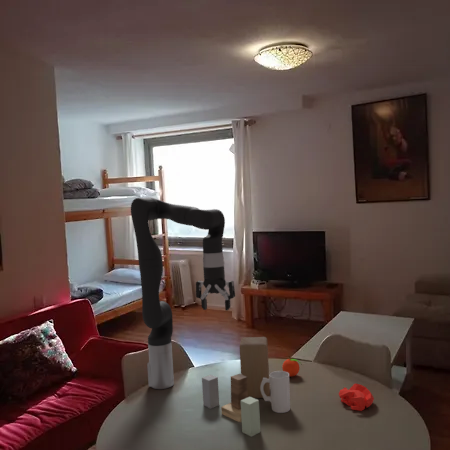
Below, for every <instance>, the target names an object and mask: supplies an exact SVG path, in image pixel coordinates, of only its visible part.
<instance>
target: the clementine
mask: <svg viewBox="0 0 450 450" xmlns="http://www.w3.org/2000/svg"><path fill="white" fill-rule="evenodd" d="M299 363H300V361H299V360H298V359H295V358H287V359H285V360H284V361H283V363H282V367H281V368H282V371H285V372H288V373H289V378H290V377H295V376H296V375H298V374H299V371H300V369H301V368H300V364H301V365H302V363H300V364H299ZM302 366H303V365H302Z"/></svg>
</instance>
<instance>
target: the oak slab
mask: <svg viewBox="0 0 450 450" xmlns="http://www.w3.org/2000/svg"><path fill="white" fill-rule="evenodd" d="M220 410H221V415H222V416H223V415H224V416H225V417H227V418H229V419H231V420H234V421H236V422H238V423H242V418H241V409H239V410H238V409H237V408H235V407H233V406H231V402H229V403H227V404H225V405H222V406H221V409H220Z"/></svg>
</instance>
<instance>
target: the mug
mask: <svg viewBox="0 0 450 450" xmlns="http://www.w3.org/2000/svg"><path fill="white" fill-rule="evenodd" d="M267 382H268V383H270V396H266V395H265V393H264V390H263V386H264V384H265V383H267ZM260 390H261V394H262V396H263V398H262V399H263V400H264V401H265V402H270V404H271V410H272V411H273V412H275V413H278V414H283V413H287V412H289V411H290V410H291V399H290V398H291V397H290V396H291V395H290V393H291V391H290V390H291V389H290V376H289V373H288V372H285V371H283V370H275V371H271V372H269V379H267V378H264V377H263V380H262V382H261V386H260Z"/></svg>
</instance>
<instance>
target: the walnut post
mask: <svg viewBox="0 0 450 450" xmlns="http://www.w3.org/2000/svg"><path fill="white" fill-rule="evenodd" d="M245 398H248V389H247V377H246V376H244V375H242V374H241V373H238V374H234V375H231V376H230V403H231V406H233V407H235V408H237V409H238V410H239V409H241V400H243V399H245Z"/></svg>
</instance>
